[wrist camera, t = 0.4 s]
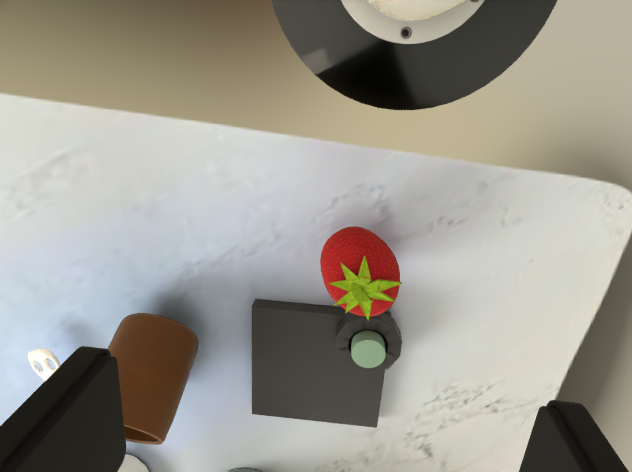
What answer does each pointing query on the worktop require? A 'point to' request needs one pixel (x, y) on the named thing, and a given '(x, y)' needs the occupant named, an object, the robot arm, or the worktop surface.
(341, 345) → the scale
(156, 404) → the mug
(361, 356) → the button
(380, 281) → the strawberry
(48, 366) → the spatula
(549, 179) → the worktop surface
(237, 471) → the green plant pot
